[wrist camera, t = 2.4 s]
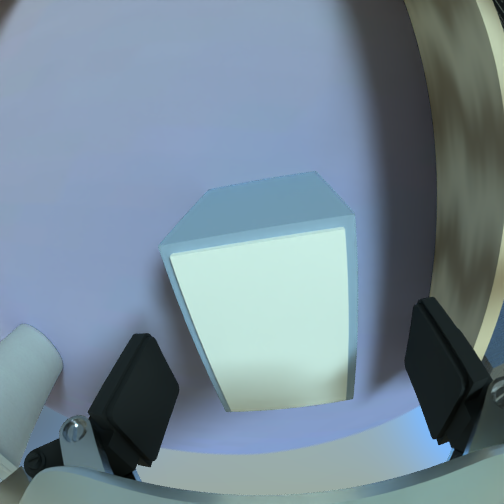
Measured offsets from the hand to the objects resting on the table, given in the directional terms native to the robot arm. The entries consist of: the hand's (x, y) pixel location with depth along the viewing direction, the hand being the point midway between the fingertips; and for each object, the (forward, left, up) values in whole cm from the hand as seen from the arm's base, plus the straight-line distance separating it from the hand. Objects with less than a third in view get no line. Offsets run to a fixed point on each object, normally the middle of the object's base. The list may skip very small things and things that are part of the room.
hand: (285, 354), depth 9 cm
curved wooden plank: (-6, +17, -7) cm, 19 cm away
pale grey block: (-1, 0, -7) cm, 7 cm away
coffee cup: (+6, -25, -7) cm, 27 cm away
